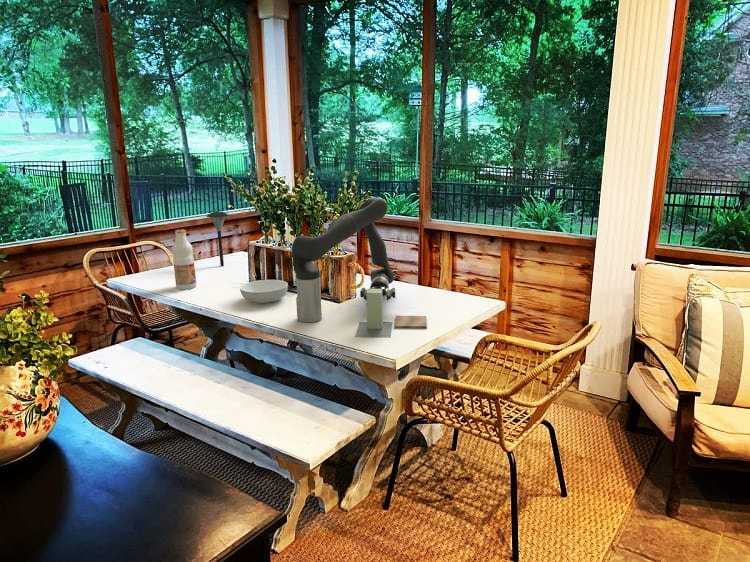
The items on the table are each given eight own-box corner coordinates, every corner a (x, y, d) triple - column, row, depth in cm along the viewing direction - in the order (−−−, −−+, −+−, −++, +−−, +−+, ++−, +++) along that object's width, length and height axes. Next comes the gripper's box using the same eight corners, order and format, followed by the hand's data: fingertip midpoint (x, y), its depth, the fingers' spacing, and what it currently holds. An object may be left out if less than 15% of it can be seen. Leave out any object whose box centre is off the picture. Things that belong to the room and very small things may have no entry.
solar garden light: (216, 269, 307) (211, 214, 299) (207, 266, 316) (201, 212, 308) (237, 266, 315) (232, 212, 307) (227, 262, 324) (222, 210, 316)
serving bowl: (267, 291, 266) (266, 276, 264) (298, 298, 253) (297, 284, 251) (231, 301, 250) (229, 286, 249) (262, 310, 237) (260, 294, 236)
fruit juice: (173, 287, 275) (167, 230, 268) (192, 283, 281) (187, 227, 273) (179, 291, 268) (173, 232, 261) (199, 287, 273) (193, 230, 266)
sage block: (367, 328, 213) (366, 292, 210) (368, 323, 219) (367, 288, 215) (381, 328, 213) (381, 292, 209) (382, 323, 218) (382, 288, 215)
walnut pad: (394, 328, 213) (394, 326, 213) (395, 318, 225) (395, 315, 225) (426, 328, 212) (426, 326, 212) (426, 318, 224) (426, 315, 224)
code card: (354, 337, 205) (354, 337, 205) (359, 321, 221) (359, 321, 221) (390, 338, 204) (390, 337, 204) (392, 322, 220) (392, 321, 220)
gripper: (362, 278, 240) (358, 288, 224) (396, 278, 238) (394, 288, 223) (363, 295, 241) (359, 306, 226) (396, 295, 240) (394, 307, 225)
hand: (376, 297), depth 224 cm, fingers open, 8 cm apart
